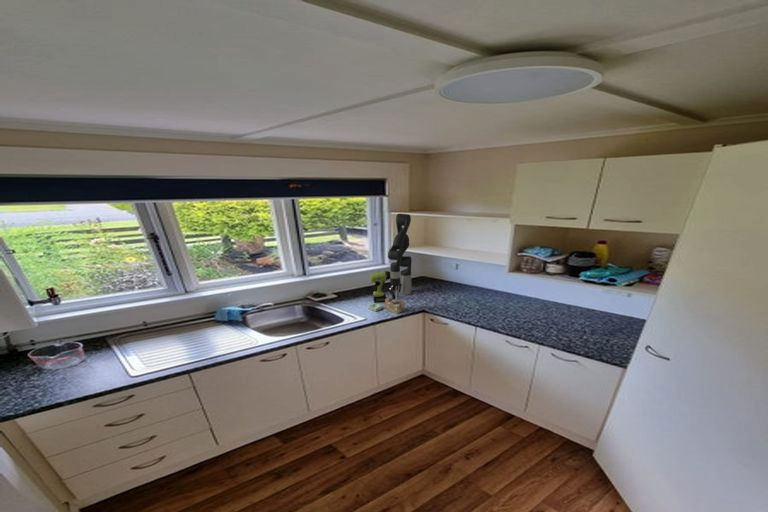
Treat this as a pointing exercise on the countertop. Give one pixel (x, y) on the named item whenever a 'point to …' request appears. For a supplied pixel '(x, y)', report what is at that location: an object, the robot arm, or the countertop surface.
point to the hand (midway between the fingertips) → (395, 298)
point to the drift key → (387, 301)
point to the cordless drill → (379, 285)
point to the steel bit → (395, 298)
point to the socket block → (395, 307)
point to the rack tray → (375, 307)
